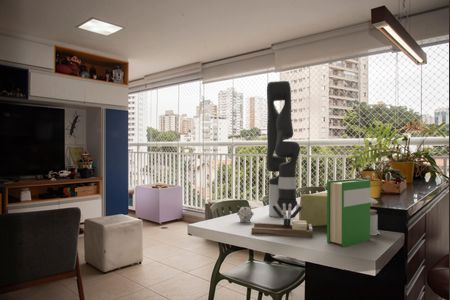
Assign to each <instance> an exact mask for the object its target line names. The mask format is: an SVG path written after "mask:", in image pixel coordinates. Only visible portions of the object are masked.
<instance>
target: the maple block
mask: <svg viewBox="0 0 450 300" xmlns="http://www.w3.org/2000/svg"><path fill="white" fill-rule="evenodd" d="M291 225H292V230H306V231H307V222H306V221H301V220H299V219H298V220H297V219H291Z"/></svg>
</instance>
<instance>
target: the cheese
mask: <svg viewBox="0 0 450 300" xmlns="http://www.w3.org/2000/svg"><path fill="white" fill-rule="evenodd" d="M299 200H300V201H299V205H300V206H302V209H301V210H300V211H299V213H298V220H301V221H306V222H307V225H308V224H311V225H312V227H319V226H320V227H322V226H324V227H325V226H327V192H321V193H311V194H310V193H309V194H305V193H304V194H301V195H300V199H299Z"/></svg>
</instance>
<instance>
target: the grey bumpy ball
mask: <svg viewBox="0 0 450 300" xmlns="http://www.w3.org/2000/svg"><path fill="white" fill-rule="evenodd" d="M239 206H240V207H239V209H238V212H236V214H237V216H238V217H239V219H240V221H239V223H241V222H249V223H252V222H251V219H252V217H253V216H254V212H253V211H252V209H251V207H252V206H251V205H249V206H242V205H239Z"/></svg>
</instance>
